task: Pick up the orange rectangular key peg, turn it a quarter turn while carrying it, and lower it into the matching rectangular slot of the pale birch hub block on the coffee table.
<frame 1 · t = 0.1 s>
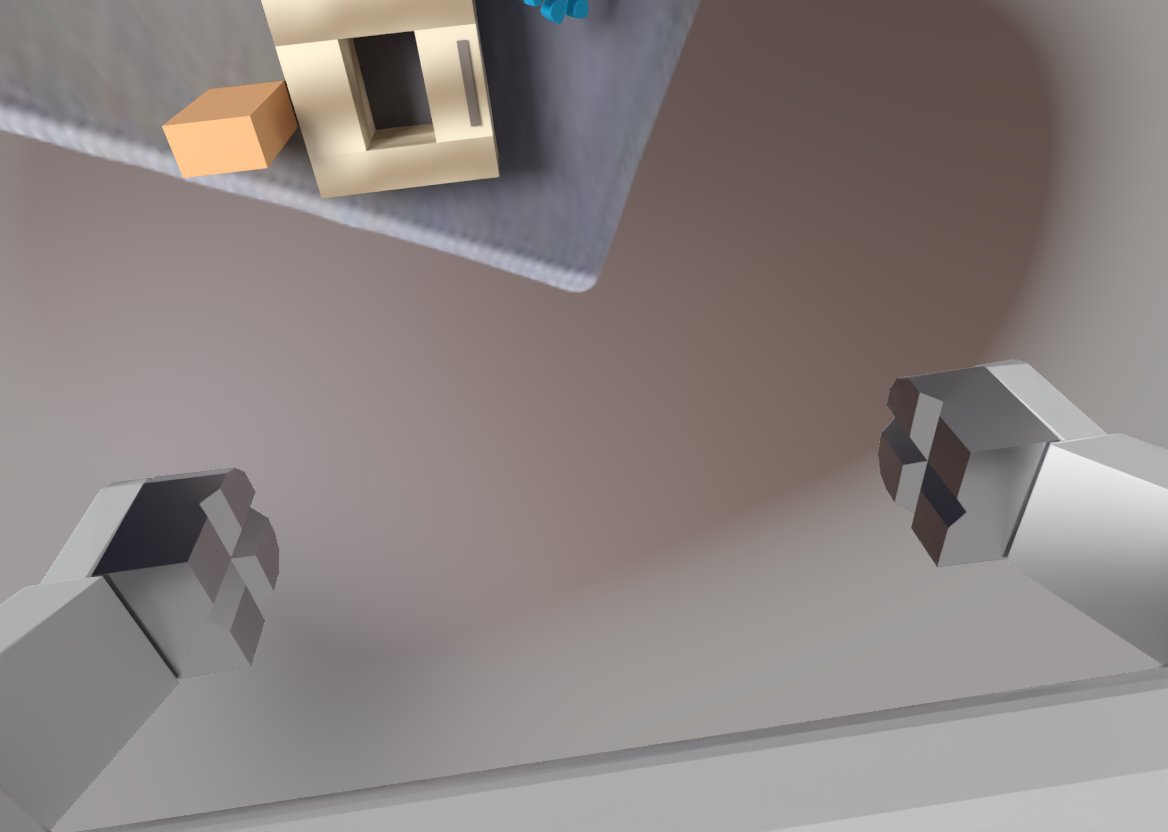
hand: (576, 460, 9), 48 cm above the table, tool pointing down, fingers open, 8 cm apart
key peg: (254, 108, 50), on the table
hub block: (397, 75, 50), on the table
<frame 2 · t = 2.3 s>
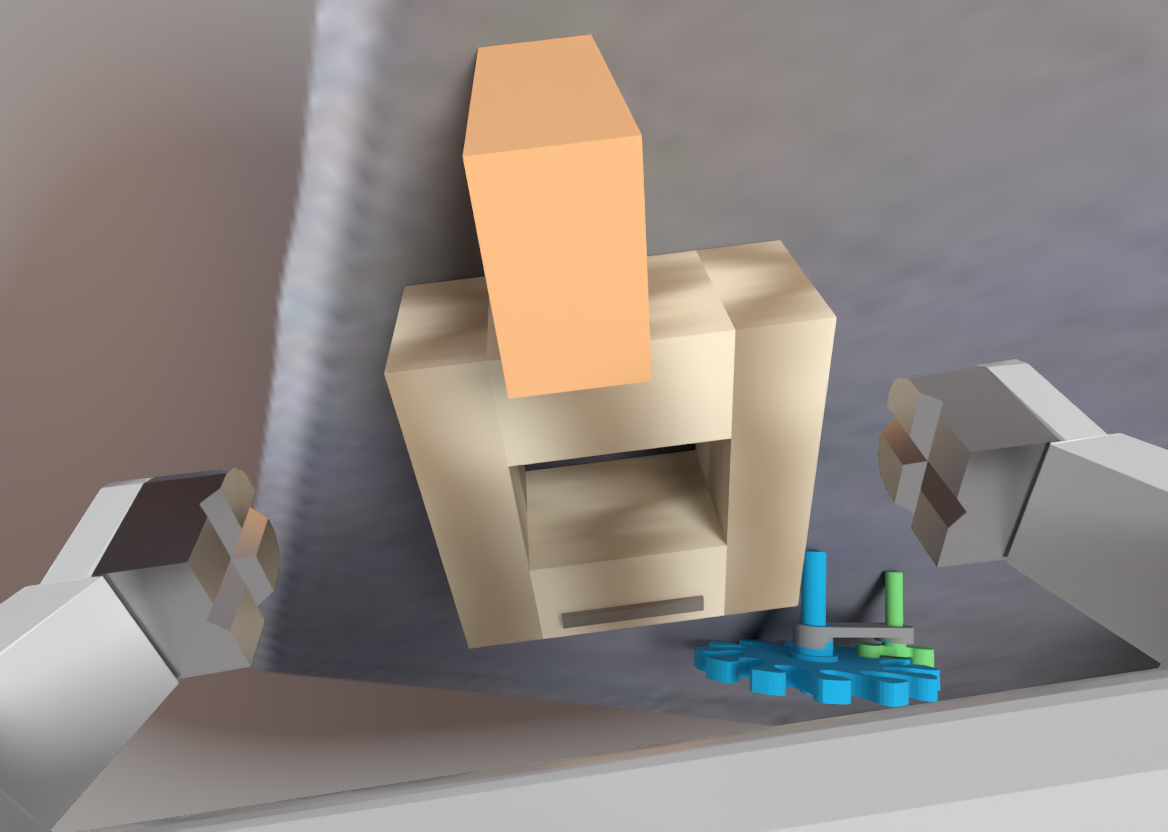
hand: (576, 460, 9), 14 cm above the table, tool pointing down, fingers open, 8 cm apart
key peg: (546, 137, 21), on the table
hub block: (606, 413, 27), on the table
gear: (794, 593, 35), on the table
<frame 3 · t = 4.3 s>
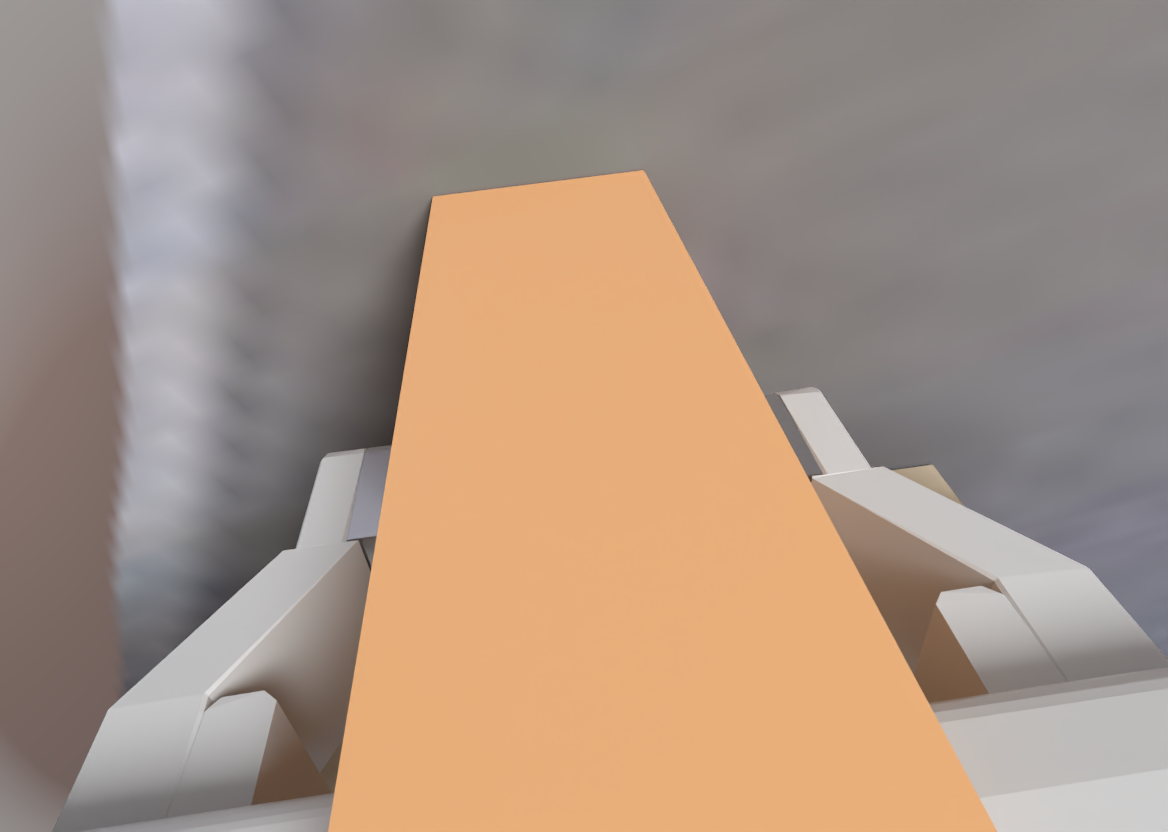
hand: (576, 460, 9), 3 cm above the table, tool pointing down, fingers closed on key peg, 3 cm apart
key peg: (558, 335, 12), on the table, touching gripper
hub block: (643, 684, 18), on the table
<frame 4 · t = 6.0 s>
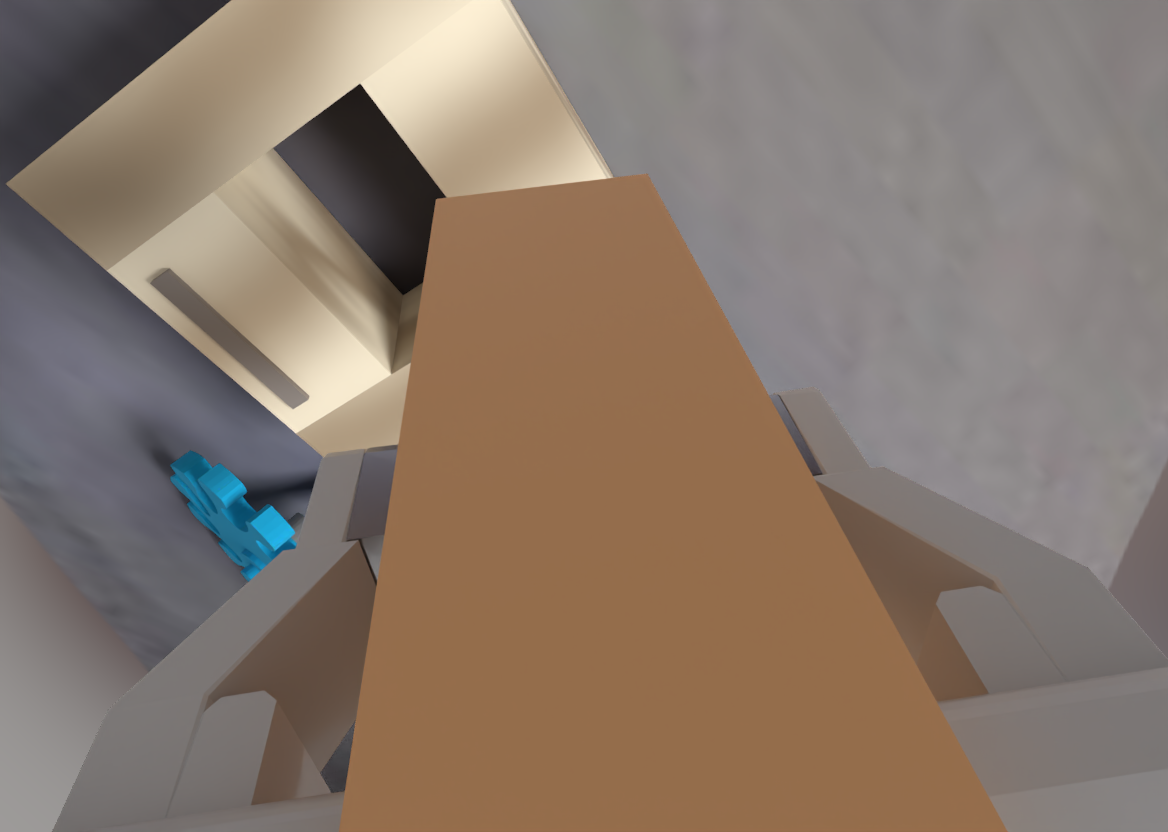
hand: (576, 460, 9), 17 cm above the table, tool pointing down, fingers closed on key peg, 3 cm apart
key peg: (560, 338, 12), point 13 cm above the table, touching gripper
hub block: (392, 181, 23), on the table
gear: (299, 497, 31), on the table
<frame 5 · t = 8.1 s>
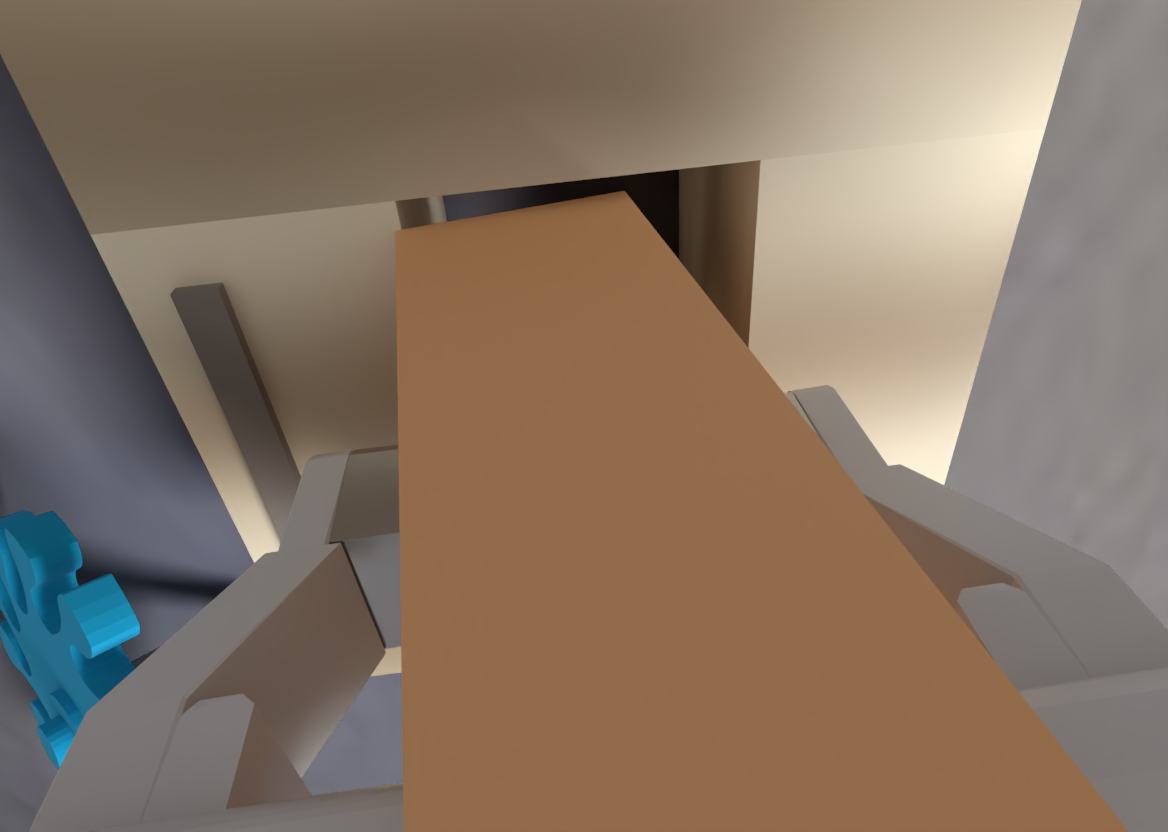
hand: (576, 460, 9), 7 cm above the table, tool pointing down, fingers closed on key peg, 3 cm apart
key peg: (538, 372, 11), point 5 cm above the table, tilted 6°, touching gripper, hub block
hub block: (568, 260, 15), on the table
gear: (165, 594, 20), on the table
when the fingers open (7 cm above the table, at t = 9.0 s): key peg drops 4 cm, resting in hub block.
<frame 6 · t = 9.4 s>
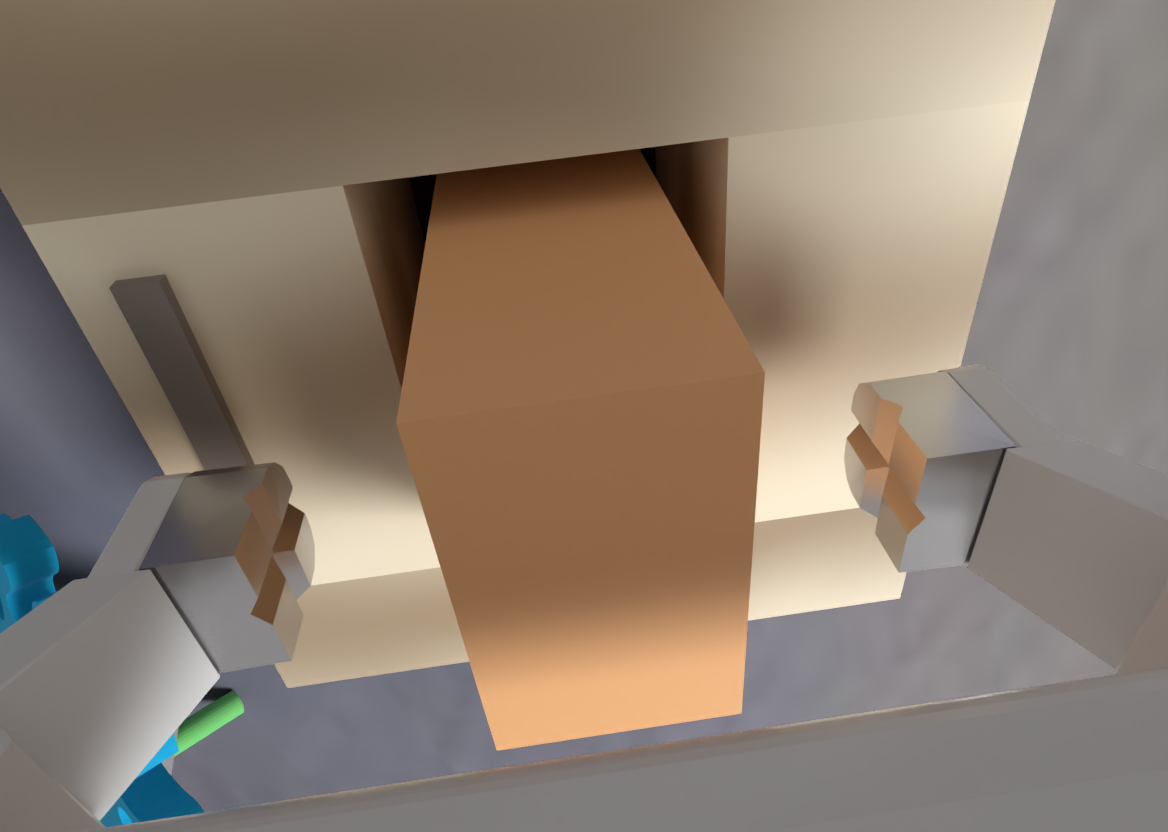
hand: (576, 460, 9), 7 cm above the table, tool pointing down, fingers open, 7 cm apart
key peg: (545, 242, 15), resting in hub block
hub block: (544, 249, 15), on the table
gear: (149, 597, 20), on the table
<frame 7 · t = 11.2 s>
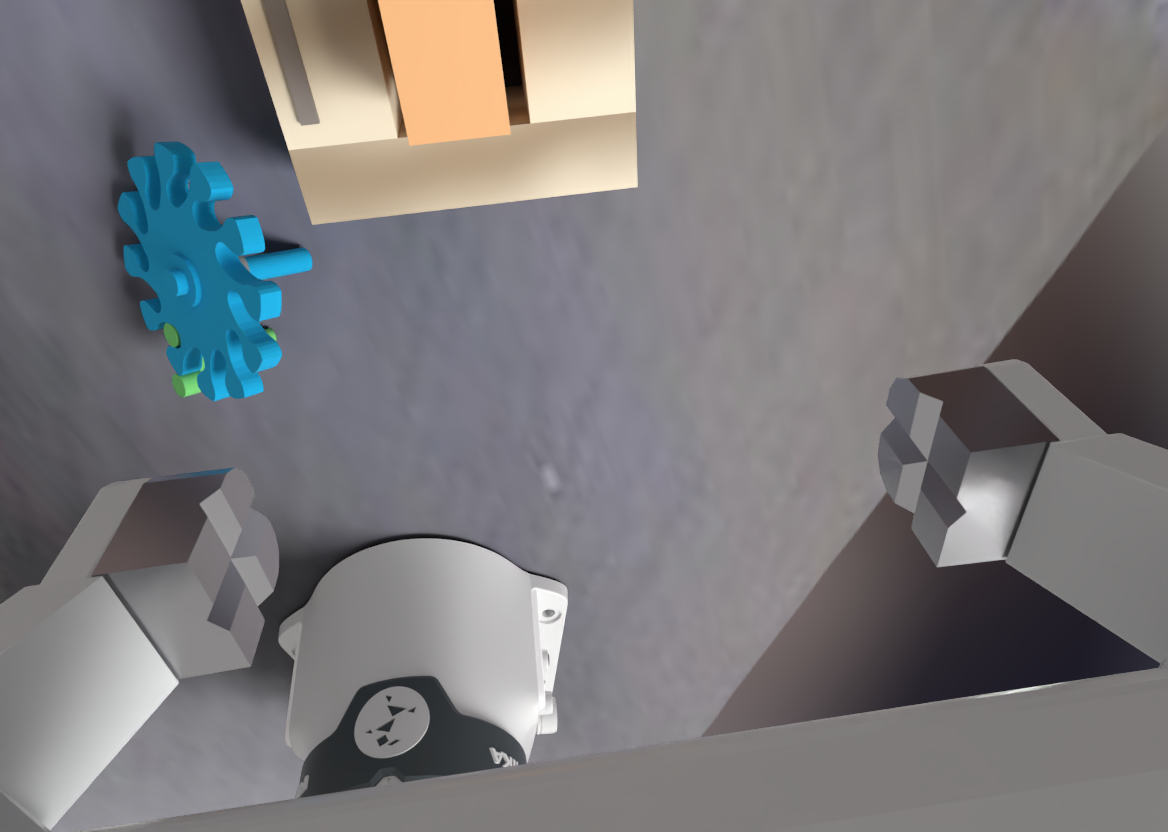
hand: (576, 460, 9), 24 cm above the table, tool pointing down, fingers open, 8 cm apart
gear: (223, 246, 32), on the table
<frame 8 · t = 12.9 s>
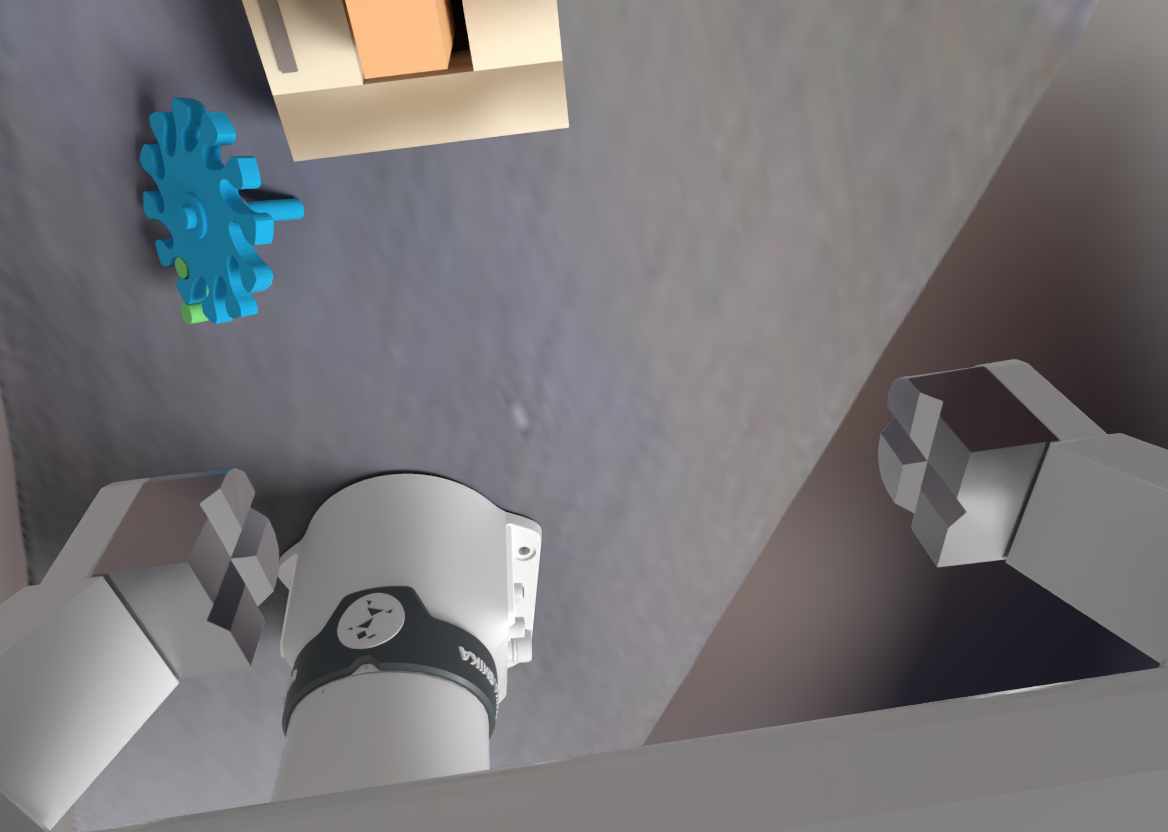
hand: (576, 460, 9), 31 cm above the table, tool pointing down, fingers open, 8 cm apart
gear: (228, 196, 38), on the table
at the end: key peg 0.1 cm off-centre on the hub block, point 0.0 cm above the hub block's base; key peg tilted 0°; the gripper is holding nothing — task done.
